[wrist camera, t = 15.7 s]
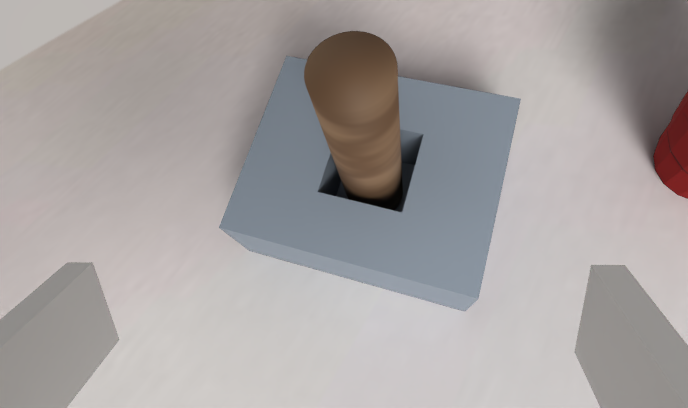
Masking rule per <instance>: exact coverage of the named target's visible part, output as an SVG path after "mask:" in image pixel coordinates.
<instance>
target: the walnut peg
mask: <svg viewBox="0 0 688 408" xmlns="http://www.w3.org/2000/svg"><path fill="white" fill-rule="evenodd" d="M304 80H305V85H306V88H307V91H308V93H309V96H310V99H311V101H312V104H313V107H314V109H315V112H316V115H317V117H318V120H319V123H320V125H321V128H322V131H323V133H324V136H325V139H326V141H327V144H328V147H329V149H330V152H331V155H332V157H333V160H334V163H335V165H336V168H337V171H338V173H339V176H340V179H341V181H342V184H343V187H344V189H345V192H346V195H347V197H348V199H349V200H353V201H357V202H361V203H365V204H369V205H373V206H377V207H381V208H385V209H390V210H394V211H395V209H396V208H397V207H398V206H399V204H400V202H401V199H402V195H403V186H402V163H401V140H400V116H399V93H398V70H397V61H396V57H395V54H394V52H393V51H392V49H391V48H390V46H389V45H388V44H387V43H386V42H385V41H384V40H382V39H381V38H379V37H377V36H375V35H373V34H370V33H366V32H360V31H349V32H343V33H339V34H336V35H333V36H331V37H329V38H327V39H326V40H324V41H323V42H321V43H320V44H319V45H318V46H317V47H316V48H315V49H314V50H313V51H312V53H311V54H310V56H309V57H308V60H307V62H306V65H305V70H304Z"/></svg>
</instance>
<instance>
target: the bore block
mask: <svg viewBox="0 0 688 408" xmlns="http://www.w3.org/2000/svg"><path fill="white" fill-rule="evenodd" d="M306 62H307V59H301V58H296V57H290V56H286V59H285V61H284V64H283V66H282V69H281V71H280V74H279V76H278V79H277V82H276V84H275V87H274V89H273V92H272V94H271V97H270V99H269V102H268V104H267V107H266V109H265V112H264V115H263V117H262V120H261V122H260V125H259V127H258V130H257V132H256V135H255V137H254V140H253V143H252V145H251V148H250V150H249V153H248V155H247V158H246V160H245V163H244V165H243V168H242V170H241V173H240V176H239V178H238V181H237V183H236V186H235V188H234V191H233V193H232V196H231V198H230V201H229V203H228V206H227V209H226V211H225V214H224V216H223V219H222V221H221V224H220V226H219V228H220V229H222V230H223V231H224V232H225V233H227V234H228V235H229V236H231V237H232V238H233V239H235V240H236V241H237V242H239V243H240V244H241V245H242V246H244V247H245V248H246V249H248V250H249V251H252V252H256V253H259V254H263V255H267V256H270V257H274V258H277V259H281V260H284V261H288V262H291V263H295V264H299V265H302V266H306V267H309V268H313V269H316V270H320V271H323V272H327V273H330V274H334V275H338V276H341V277H345V278H348V279H352V280H355V281H359V282H362V283H366V284H369V285H373V286H377V287H380V288H384V289H387V290H391V291H394V292H398V293H401V294H405V295H408V296H412V297H416V298H419V299H423V300H426V301H430V302H433V303H437V304H440V305H444V306H448V307H451V308H455V309H458V310H462V311H466V310H467V309H468V308H469V307H470V306H471V305H472V304H473V303H474V302H475V301H476V300H478V298H479V293H480V288H481V284H482V279H483V274H484V270H485V265H486V260H487V255H488V251H489V246H490V241H491V237H492V232H493V227H494V222H495V218H496V213H497V208H498V204H499V199H500V194H501V189H502V185H503V180H504V175H505V171H506V166H507V161H508V156H509V152H510V147H511V142H512V138H513V133H514V128H515V123H516V119H517V114H518V109H519V105H520V100H521V99H519V98H513V97H508V96H503V95H497V94H492V93H486V92H481V91H475V90H470V89H464V88H459V87H454V86H448V85H443V84H437V83H432V82H426V81H421V80H415V79H410V78H405V77H399V76H398V93H399V116H400V140H401V163H402V186H403V195H402V199H401V202H400V204H399V206H398V207H397V208H396V209H395V211H394V210H390V209H385V208H381V207H377V206H373V205H369V204H365V203H361V202H357V201H353V200H349V199H348V197H347V195H346V192H345V189H344V187H343V184H342V181H341V179H340V176H339V173H338V171H337V168H336V165H335V163H334V160H333V157H332V155H331V152H330V149H329V147H328V144H327V141H326V139H325V136H324V133H323V131H322V128H321V125H320V123H319V120H318V117H317V115H316V112H315V109H314V107H313V104H312V101H311V99H310V96H309V93H308V91H307V88H306V85H305V80H304V70H305V65H306Z"/></svg>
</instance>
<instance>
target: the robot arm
mask: <svg viewBox="0 0 688 408" xmlns="http://www.w3.org/2000/svg"><path fill="white" fill-rule="evenodd" d="M118 341H119V337H118V334H117V331H116V329H115V326H114V323H113V320H112V317H111V314H110V311H109V308H108V305H107V303H106V300H105V297H104V294H103V291H102V288H101V285H100V282H99V279H98V277H97V274H96V271H95V268H94V265H93V263H66V264H65V265H64V266H63V267H62V268H60V269H59V270H58V271H57V272H56V273H55V274H53V275H52V276H51V277H50V278H49V279H48V280H46V281H45V282H44V283H43V284H42V285H41V286H39V287H38V288H37V289H36V290H35V291H34V292H32V293H31V294H30V295H29V296H28V297H27V298H25V299H24V300H23V301H22V302H21V303H20V304H18V305H17V306H16V307H15V308H14V309H12V310H11V311H10V312H9V313H8V314H7V315H5V316H4V317H3V318H2V319H1V320H0V408H67V406H68V405H69V404H70V403H71V401H72V400H73V399H74V397H75V396H76V395H77V394H78V392H79V391H80V390H81V388H82V387H83V386H84V385H85V383H86V382H87V381H88V379H89V378H90V377H91V375H92V374H93V373H94V372H95V370H96V369H97V368H98V366H99V365H100V364H101V363H102V361H103V360H104V359H105V357H106V356H107V355H108V354H109V352H110V351H111V350H112V348H113V347H114V346H115V345H116V343H117V342H118ZM575 354H576V356H577V358H578V360H579V362H580V365H581V367H582V369H583V371H584V373H585V375H586V377H587V380H588V382H589V384H590V386H591V388H592V390H593V392H594V395H595V397H596V399H597V401H598V403H599V405H600V407H601V408H688V345H687V344H686V343H685V341H684V340H683V339H682V338H681V336H680V335H679V334H678V333H677V331H676V330H675V329H674V327H673V326H672V325H671V324H670V322H669V321H668V320H667V319H666V317H665V316H664V315H663V313H662V312H661V311H660V310H659V308H658V307H657V306H656V304H655V303H654V302H653V301H652V299H651V298H650V297H649V296H648V294H647V293H646V292H645V290H644V289H643V288H642V287H641V285H640V284H639V283H638V282H637V280H636V279H635V278H634V276H633V275H632V274H631V273H630V271H629V270H628V269H627V267H626V266H625V265H591V269H590V274H589V279H588V284H587V290H586V295H585V300H584V305H583V310H582V315H581V321H580V326H579V331H578V336H577V341H576V347H575Z"/></svg>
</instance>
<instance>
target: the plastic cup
mask: <svg viewBox="0 0 688 408" xmlns="http://www.w3.org/2000/svg"><path fill="white" fill-rule="evenodd" d="M653 157H654V164H655V170H656V172H657V174H658V175H659V177H660V178H661V180H662V182H663V183H664V184H665V185H666V186H667V187H668V188H670V189H671V190H672V191H674V192H675V193H676V194H677V195H680V196H682V197H685V198H688V91H687V93H686V95H685V96H684V98H683V99H682V101H681V103H680V104H679V106H678V108H677V109H676V111H675V112H674V114H673V116H672V119H671V122H670V123H669V125H668V126H667V128H666V129H665V131H664V132H663V134H662V135H661V137H660V138H659V141H658V144H657V147H656V150H655V153H654V156H653Z"/></svg>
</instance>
